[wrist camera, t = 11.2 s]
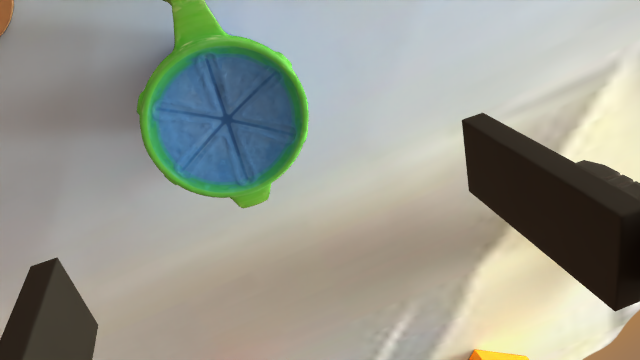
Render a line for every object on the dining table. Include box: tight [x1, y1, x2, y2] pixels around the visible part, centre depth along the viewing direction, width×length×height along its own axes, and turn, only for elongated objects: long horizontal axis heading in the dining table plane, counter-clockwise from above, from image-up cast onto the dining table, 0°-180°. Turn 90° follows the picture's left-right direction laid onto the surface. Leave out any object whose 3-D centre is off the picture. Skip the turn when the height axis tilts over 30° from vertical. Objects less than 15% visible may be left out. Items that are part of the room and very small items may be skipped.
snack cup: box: [137, 0, 308, 208], centre depth 36 cm, size 16×11×10 cm
